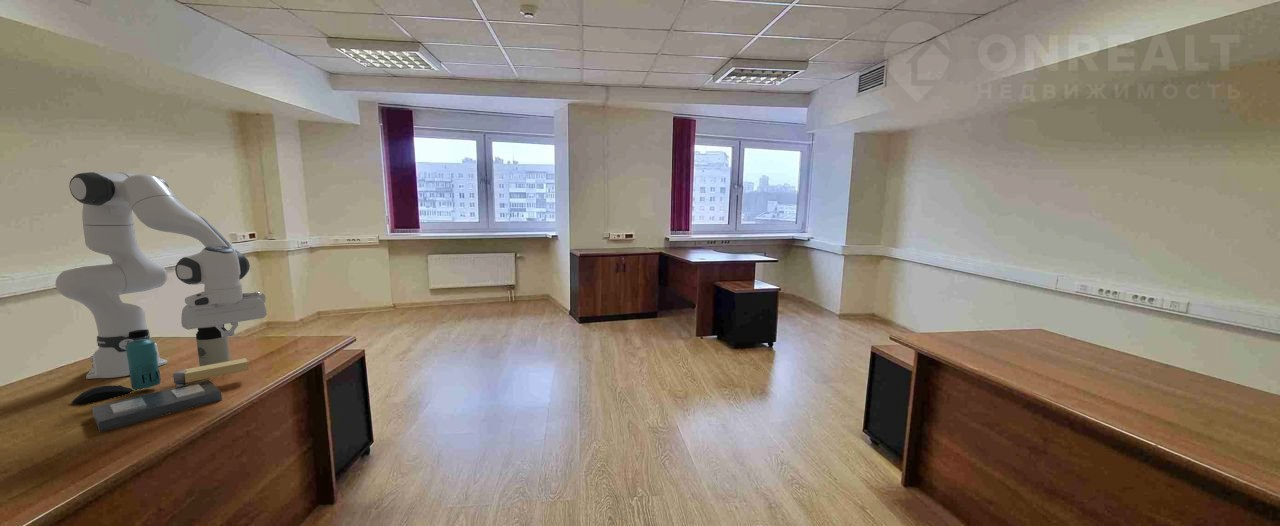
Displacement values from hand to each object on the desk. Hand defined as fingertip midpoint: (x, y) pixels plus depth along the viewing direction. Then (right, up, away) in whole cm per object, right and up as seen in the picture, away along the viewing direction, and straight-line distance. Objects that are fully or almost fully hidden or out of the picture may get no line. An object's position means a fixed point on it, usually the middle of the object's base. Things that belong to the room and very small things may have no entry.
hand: (228, 336), depth 142 cm
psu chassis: (-8, -19, -13) cm, 24 cm away
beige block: (-6, -13, +1) cm, 15 cm away
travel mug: (-17, -15, +13) cm, 27 cm away
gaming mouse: (-30, -18, -7) cm, 36 cm away
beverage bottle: (-24, -17, -3) cm, 29 cm away
